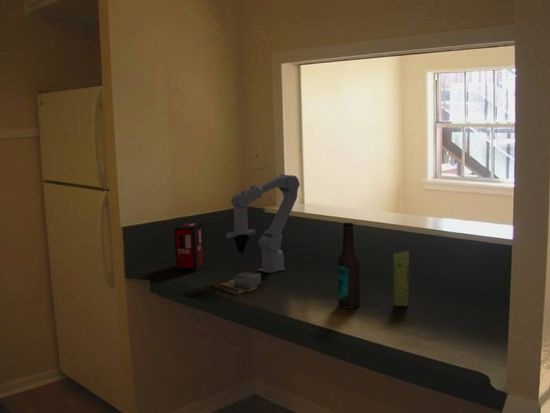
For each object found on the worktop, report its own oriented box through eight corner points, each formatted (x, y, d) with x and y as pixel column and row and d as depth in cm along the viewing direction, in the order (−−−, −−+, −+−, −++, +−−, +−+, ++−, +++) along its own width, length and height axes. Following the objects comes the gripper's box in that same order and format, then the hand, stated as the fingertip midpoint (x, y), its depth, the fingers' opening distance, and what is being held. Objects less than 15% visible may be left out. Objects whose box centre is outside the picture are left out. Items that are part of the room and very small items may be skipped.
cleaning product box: (195, 272, 276) (193, 228, 274) (176, 271, 278) (174, 228, 275) (204, 263, 293) (203, 222, 290) (186, 263, 294) (184, 222, 291)
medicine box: (261, 273, 250) (250, 277, 242) (261, 283, 250) (250, 289, 243) (244, 271, 253) (233, 276, 246) (244, 281, 254) (233, 286, 246)
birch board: (233, 281, 258) (233, 277, 257) (258, 288, 246) (258, 283, 246) (212, 286, 251) (212, 282, 250) (236, 294, 239) (236, 289, 238)
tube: (407, 308, 216) (407, 253, 213) (392, 307, 217) (392, 253, 215) (409, 303, 221) (409, 250, 218) (394, 302, 223) (394, 249, 220)
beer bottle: (334, 304, 223) (333, 222, 218) (352, 301, 226) (352, 220, 221) (344, 310, 216) (344, 225, 211) (363, 306, 219) (363, 223, 214)
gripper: (248, 218, 272) (248, 248, 273) (221, 222, 262) (222, 253, 264) (258, 220, 266) (258, 251, 268) (231, 223, 257) (232, 255, 259)
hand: (241, 252), depth 266 cm, fingers closed
